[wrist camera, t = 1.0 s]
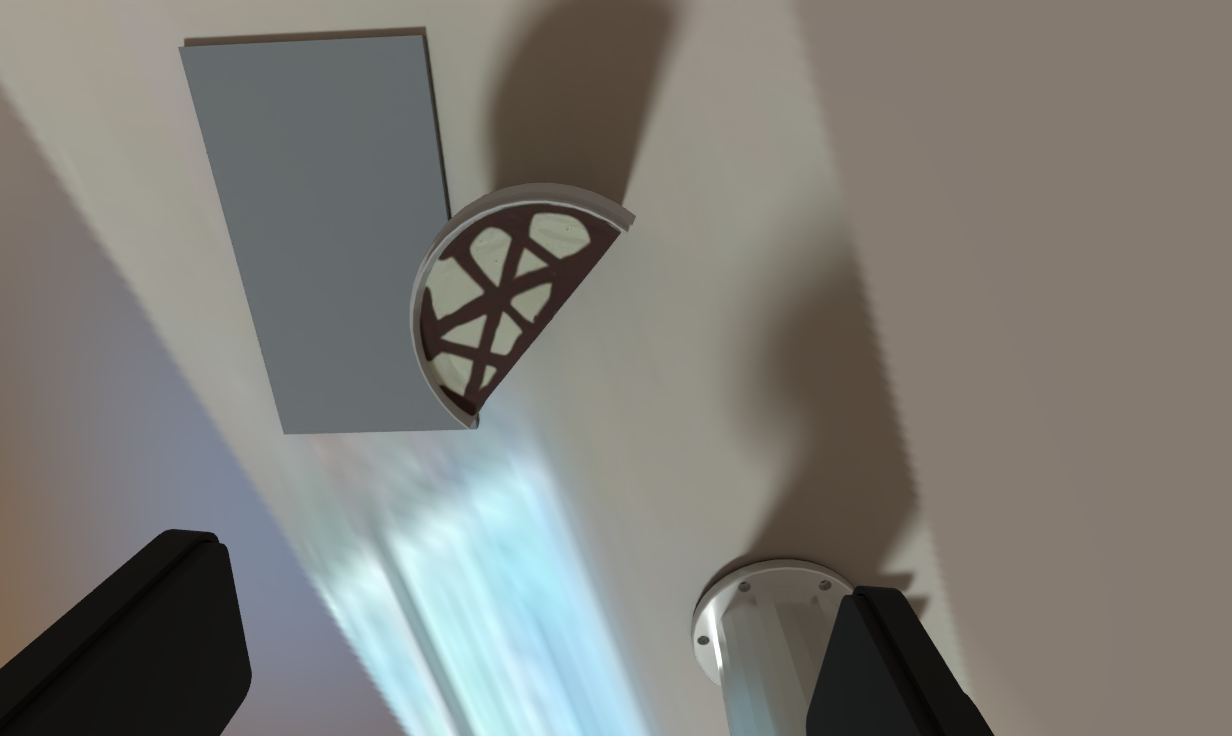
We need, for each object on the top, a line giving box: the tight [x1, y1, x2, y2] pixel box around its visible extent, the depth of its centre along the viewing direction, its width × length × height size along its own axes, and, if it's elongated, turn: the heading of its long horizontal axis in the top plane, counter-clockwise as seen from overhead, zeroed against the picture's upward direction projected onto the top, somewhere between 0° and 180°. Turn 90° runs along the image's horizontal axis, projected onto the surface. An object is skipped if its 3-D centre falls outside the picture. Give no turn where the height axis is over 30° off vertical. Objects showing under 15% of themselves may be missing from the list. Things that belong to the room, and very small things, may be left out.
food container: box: [410, 183, 636, 429], centre depth 28 cm, size 12×6×10 cm, turn 141°
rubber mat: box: [178, 35, 478, 434], centre depth 33 cm, size 12×22×1 cm, turn 2°
